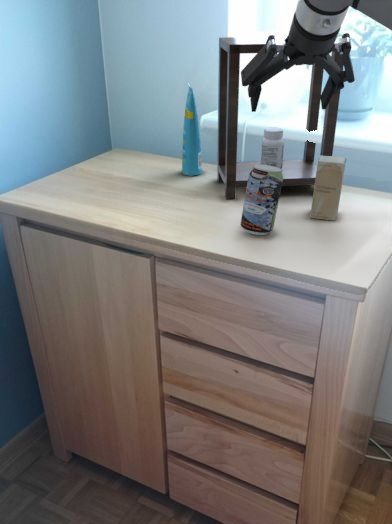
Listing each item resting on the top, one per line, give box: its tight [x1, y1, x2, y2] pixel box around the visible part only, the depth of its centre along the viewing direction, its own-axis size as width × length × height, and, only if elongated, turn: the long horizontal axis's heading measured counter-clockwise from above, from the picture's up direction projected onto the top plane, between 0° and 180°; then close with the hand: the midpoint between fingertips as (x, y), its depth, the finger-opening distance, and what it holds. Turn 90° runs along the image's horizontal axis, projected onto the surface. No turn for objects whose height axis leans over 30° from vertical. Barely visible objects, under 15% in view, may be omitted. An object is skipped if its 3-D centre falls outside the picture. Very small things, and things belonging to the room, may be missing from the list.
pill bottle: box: [260, 126, 285, 170], centre depth 120 cm, size 5×5×8 cm
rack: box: [216, 35, 344, 201], centre depth 117 cm, size 14×22×29 cm, turn 96°
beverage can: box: [240, 164, 283, 236], centre depth 100 cm, size 6×7×12 cm
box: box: [309, 155, 348, 221], centre depth 107 cm, size 5×4×11 cm
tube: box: [181, 83, 203, 177], centre depth 129 cm, size 7×5×19 cm, turn 12°
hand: (288, 104), depth 106 cm, fingers open, 13 cm apart
